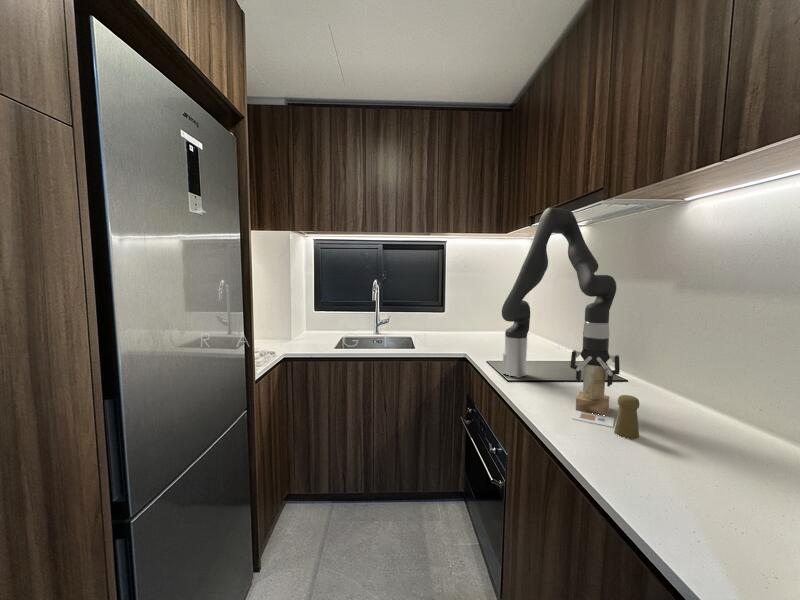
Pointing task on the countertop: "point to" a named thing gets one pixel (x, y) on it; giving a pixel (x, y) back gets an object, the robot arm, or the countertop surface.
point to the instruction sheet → (593, 418)
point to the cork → (627, 417)
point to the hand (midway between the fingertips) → (593, 383)
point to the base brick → (592, 404)
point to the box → (594, 382)
